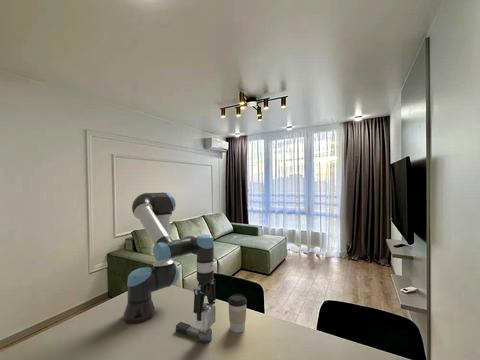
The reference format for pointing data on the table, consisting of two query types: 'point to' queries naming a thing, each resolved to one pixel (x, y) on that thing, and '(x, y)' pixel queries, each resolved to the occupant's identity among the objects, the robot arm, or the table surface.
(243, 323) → the coffee cup
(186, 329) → the grey l-shaped piece
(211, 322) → the socket
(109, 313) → the table surface
